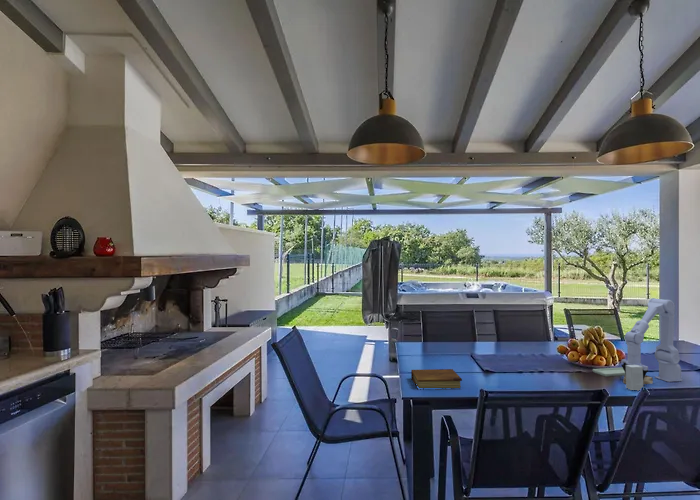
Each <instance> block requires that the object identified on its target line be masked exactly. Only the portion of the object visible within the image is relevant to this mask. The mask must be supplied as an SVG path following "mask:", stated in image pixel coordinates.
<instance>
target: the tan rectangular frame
mask: <svg viewBox="0 0 700 500" xmlns="http://www.w3.org/2000/svg"><path fill="white" fill-rule="evenodd" d="M653 378H654V377H651V376H649V375H645V377H644V380H643V385H652V384H654V380H653ZM622 383H623V384H625V385H626V375H625V376H623V379H622Z"/></svg>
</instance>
